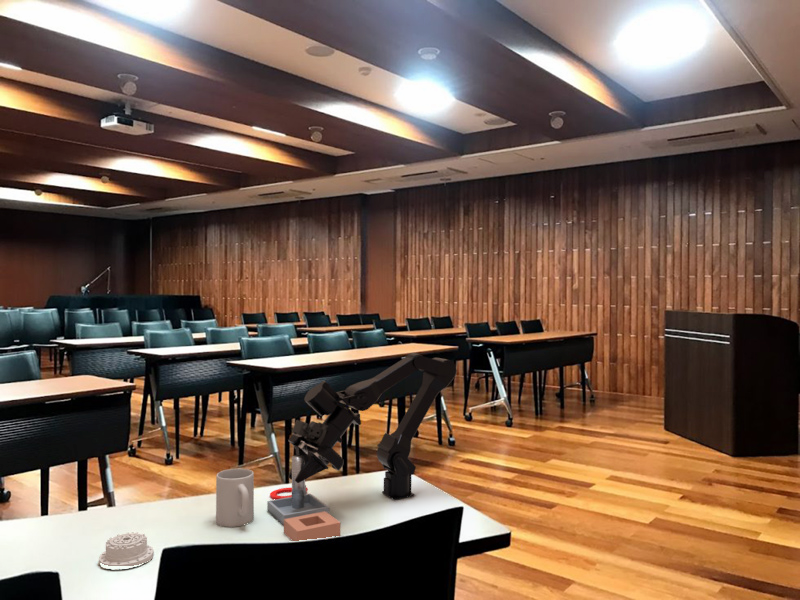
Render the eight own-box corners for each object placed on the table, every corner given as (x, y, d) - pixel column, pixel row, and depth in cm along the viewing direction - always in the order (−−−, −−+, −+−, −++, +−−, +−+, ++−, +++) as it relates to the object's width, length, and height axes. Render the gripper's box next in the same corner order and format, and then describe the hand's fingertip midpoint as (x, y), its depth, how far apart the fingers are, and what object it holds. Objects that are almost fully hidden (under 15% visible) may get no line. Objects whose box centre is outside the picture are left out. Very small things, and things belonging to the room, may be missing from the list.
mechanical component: (159, 549, 131) (110, 551, 131) (159, 528, 131) (110, 529, 130) (144, 571, 121) (90, 572, 121) (144, 548, 121) (90, 549, 121)
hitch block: (325, 524, 145) (325, 511, 145) (340, 536, 139) (340, 522, 138) (283, 532, 140) (283, 519, 140) (297, 545, 133) (297, 531, 133)
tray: (310, 503, 159) (310, 493, 159) (329, 517, 150) (329, 507, 150) (267, 511, 153) (267, 501, 153) (284, 526, 144) (284, 515, 144)
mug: (211, 518, 149) (211, 471, 148) (246, 511, 153) (246, 466, 153) (227, 535, 139) (227, 485, 138) (264, 527, 143) (265, 479, 143)
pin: (303, 504, 153) (304, 454, 153) (304, 508, 150) (305, 457, 150) (291, 504, 153) (291, 455, 152) (292, 509, 150) (292, 458, 149)
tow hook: (266, 502, 161) (302, 501, 161) (264, 452, 161) (300, 451, 160) (274, 492, 169) (308, 491, 169) (272, 444, 169) (306, 443, 169)
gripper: (295, 401, 161) (254, 451, 155) (332, 413, 146) (288, 469, 140) (322, 428, 166) (284, 477, 159) (361, 443, 151) (320, 498, 144)
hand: (293, 480), depth 151 cm, fingers closed on pin, 3 cm apart
